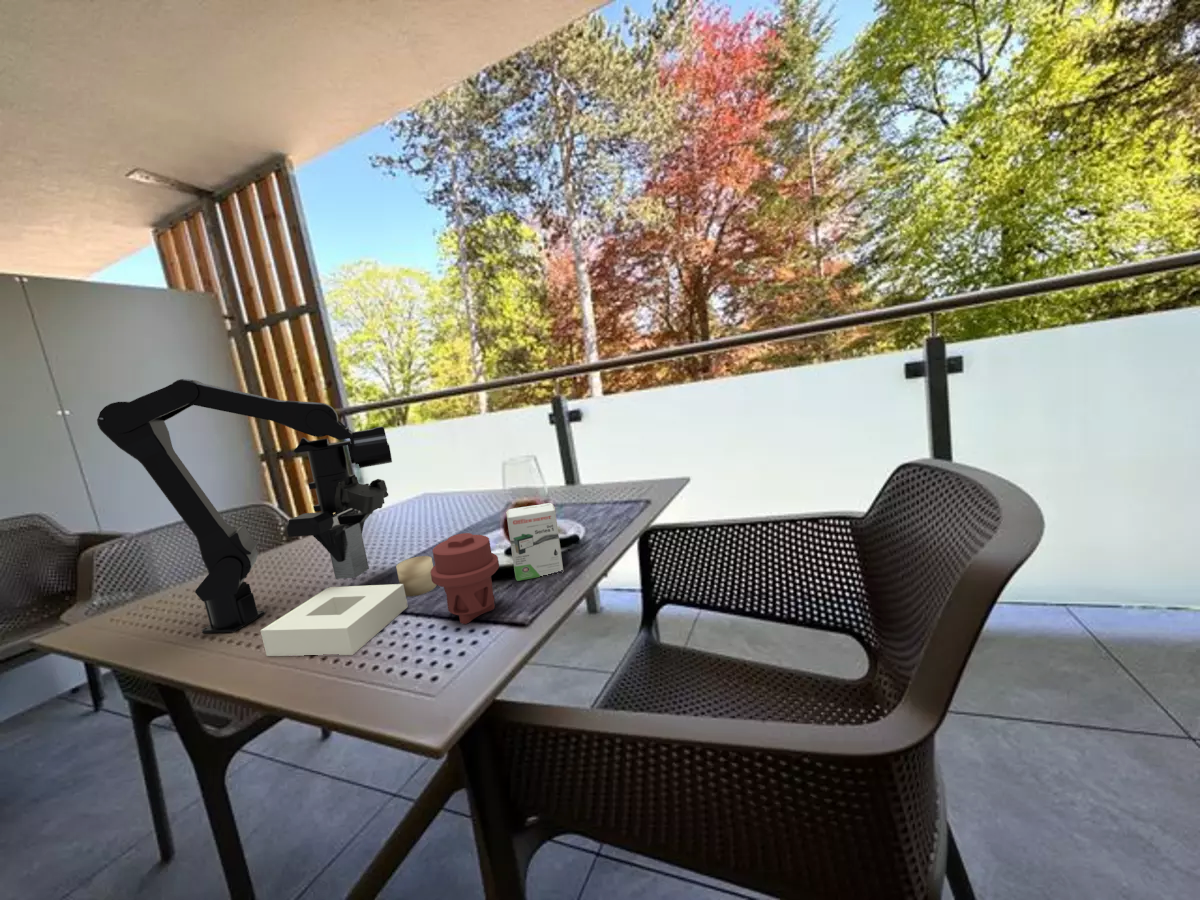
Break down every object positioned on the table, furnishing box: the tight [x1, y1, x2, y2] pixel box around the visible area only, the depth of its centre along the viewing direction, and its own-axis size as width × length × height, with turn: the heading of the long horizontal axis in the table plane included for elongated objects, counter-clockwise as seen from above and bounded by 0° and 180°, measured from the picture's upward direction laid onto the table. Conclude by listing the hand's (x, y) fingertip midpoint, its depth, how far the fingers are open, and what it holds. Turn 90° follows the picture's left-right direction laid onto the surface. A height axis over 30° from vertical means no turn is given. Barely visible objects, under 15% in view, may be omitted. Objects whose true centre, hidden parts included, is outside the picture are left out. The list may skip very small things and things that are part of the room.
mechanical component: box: [430, 532, 500, 625], centre depth 78 cm, size 12×10×10 cm
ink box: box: [505, 502, 564, 582], centre depth 91 cm, size 9×5×12 cm, turn 102°
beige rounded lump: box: [396, 555, 437, 597], centre depth 91 cm, size 6×6×5 cm
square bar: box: [329, 523, 370, 580], centre depth 93 cm, size 4×4×9 cm
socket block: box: [260, 583, 409, 657], centre depth 78 cm, size 14×14×4 cm
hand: (348, 556), depth 93 cm, fingers closed on square bar, 4 cm apart
